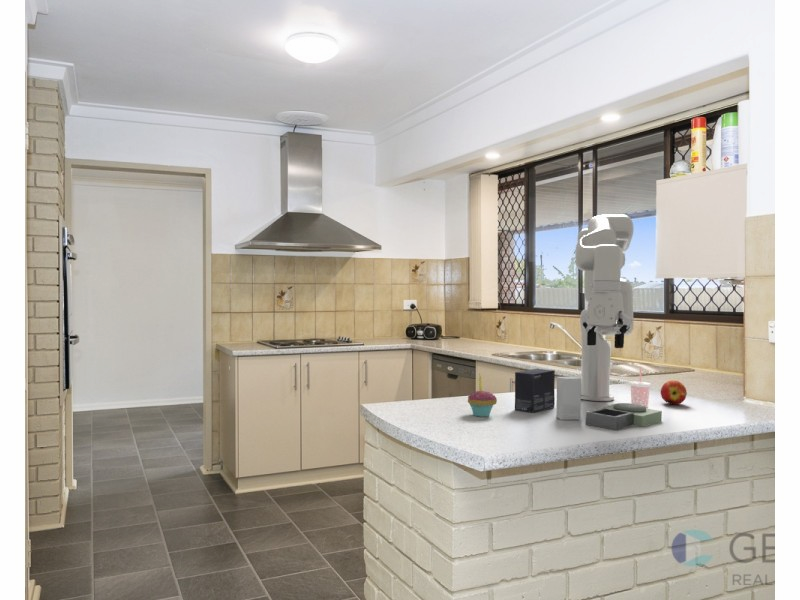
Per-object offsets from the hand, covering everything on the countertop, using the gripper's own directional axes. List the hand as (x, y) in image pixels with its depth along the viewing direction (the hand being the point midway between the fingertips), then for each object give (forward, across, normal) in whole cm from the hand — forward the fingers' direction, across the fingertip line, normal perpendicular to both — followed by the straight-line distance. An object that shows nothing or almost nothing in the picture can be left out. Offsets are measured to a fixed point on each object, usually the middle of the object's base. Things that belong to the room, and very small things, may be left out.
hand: (604, 346), depth 185 cm
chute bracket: (+21, +6, -4) cm, 22 cm away
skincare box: (+22, -6, -8) cm, 24 cm away
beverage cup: (+21, -3, +21) cm, 30 cm away
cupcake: (+22, -22, -27) cm, 41 cm away
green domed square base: (+21, +4, +6) cm, 22 cm away
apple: (+21, -6, +42) cm, 48 cm away
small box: (+21, -21, -6) cm, 31 cm away
